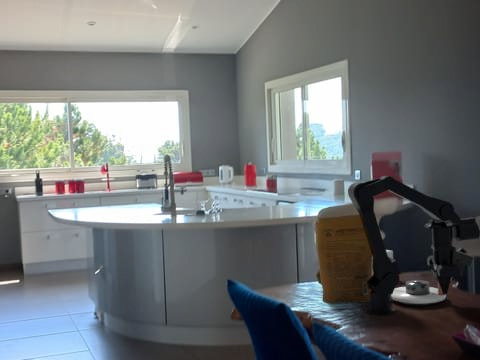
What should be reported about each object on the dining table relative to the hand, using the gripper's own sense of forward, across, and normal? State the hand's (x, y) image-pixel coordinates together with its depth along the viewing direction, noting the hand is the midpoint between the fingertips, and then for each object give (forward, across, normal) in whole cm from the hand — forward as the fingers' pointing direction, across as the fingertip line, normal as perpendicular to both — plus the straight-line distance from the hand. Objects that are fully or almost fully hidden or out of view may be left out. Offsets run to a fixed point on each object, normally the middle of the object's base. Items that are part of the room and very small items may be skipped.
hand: (444, 294), depth 168 cm
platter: (+3, +8, +7) cm, 11 cm away
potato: (+4, +25, +32) cm, 41 cm away
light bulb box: (+4, +38, +16) cm, 41 cm away
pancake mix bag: (+4, +9, +28) cm, 30 cm away
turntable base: (+4, +8, +7) cm, 11 cm away
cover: (+1, +8, +7) cm, 10 cm away
